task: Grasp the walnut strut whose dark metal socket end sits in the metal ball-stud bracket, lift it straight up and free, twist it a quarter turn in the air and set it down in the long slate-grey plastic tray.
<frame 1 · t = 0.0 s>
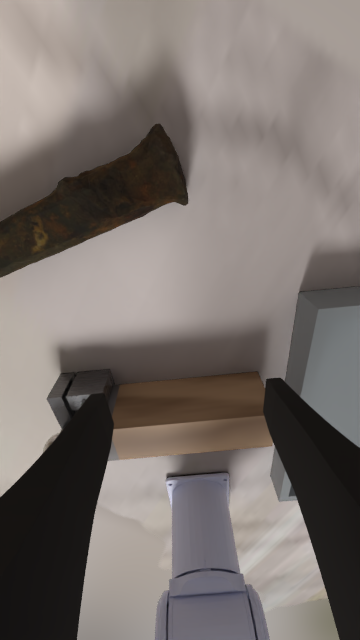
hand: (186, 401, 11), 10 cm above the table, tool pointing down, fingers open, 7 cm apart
tray: (343, 400, 26), on the table
strut: (175, 394, 25), on the table
hand tool: (58, 233, 18), on the table
stud bracket: (104, 401, 25), on the table
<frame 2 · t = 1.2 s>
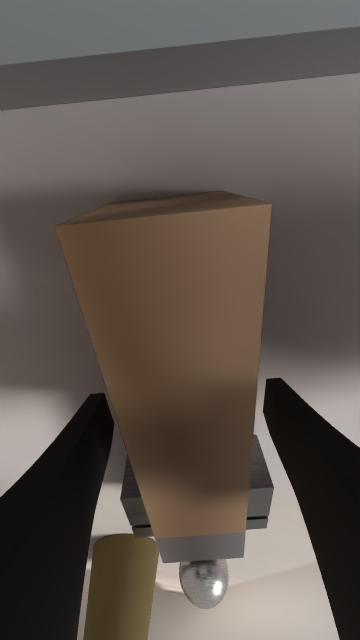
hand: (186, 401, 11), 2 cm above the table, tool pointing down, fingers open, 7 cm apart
olive bottle: (127, 545, 23), on the table
strut: (185, 369, 13), on the table
stud bracket: (193, 455, 16), on the table
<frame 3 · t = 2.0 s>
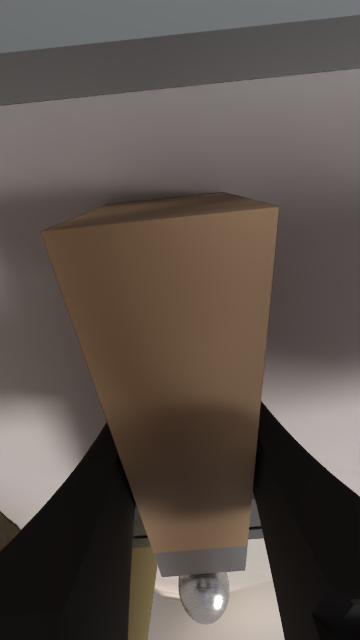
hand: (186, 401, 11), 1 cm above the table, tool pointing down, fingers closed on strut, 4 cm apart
olive bottle: (125, 553, 23), on the table
strut: (184, 376, 12), on the table, touching gripper
stud bracket: (193, 462, 16), on the table
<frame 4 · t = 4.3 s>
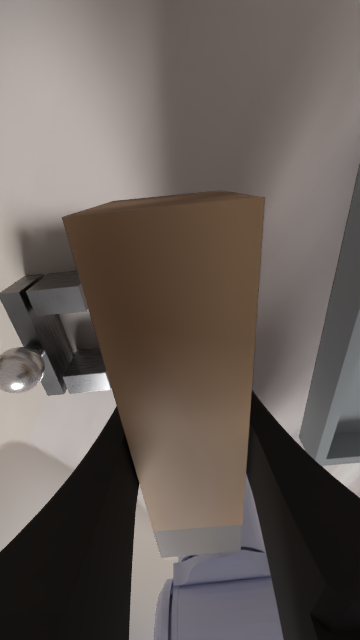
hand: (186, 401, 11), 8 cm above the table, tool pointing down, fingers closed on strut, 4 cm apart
strut: (183, 365, 13), point 6 cm above the table, touching gripper
stud bracket: (87, 323, 19), on the table
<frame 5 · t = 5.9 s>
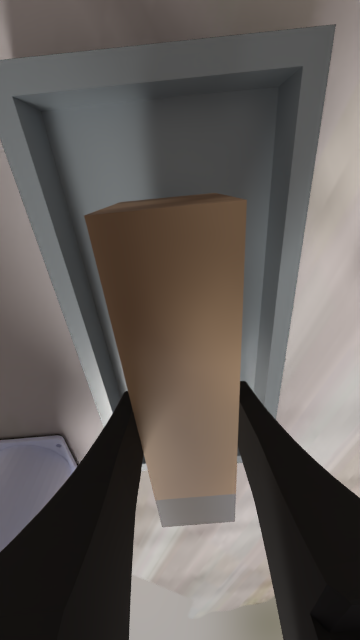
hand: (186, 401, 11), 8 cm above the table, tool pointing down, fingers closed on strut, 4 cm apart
tray: (180, 319, 18), on the table
strut: (182, 352, 14), point 4 cm above the table, touching gripper
when the fingers open (3 cm above the table, at t = 7.4 s): strut stays where it is, resting on tray.
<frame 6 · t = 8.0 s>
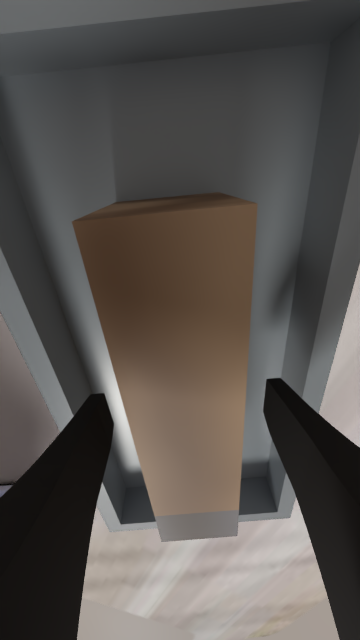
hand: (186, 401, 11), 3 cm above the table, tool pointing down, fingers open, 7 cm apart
tray: (183, 355, 14), on the table
strut: (183, 359, 14), point 1 cm above the table, touching tray
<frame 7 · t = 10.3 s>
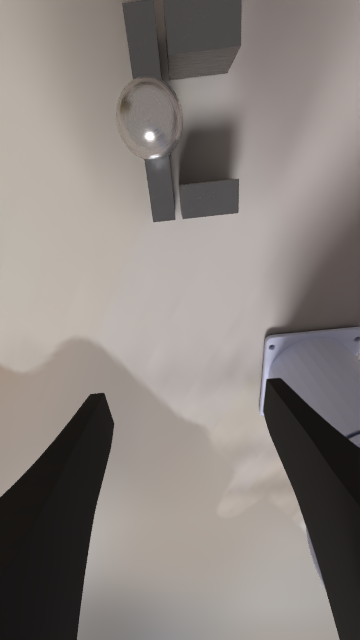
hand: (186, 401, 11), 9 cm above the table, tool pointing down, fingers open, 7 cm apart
stud bracket: (200, 133, 14), on the table
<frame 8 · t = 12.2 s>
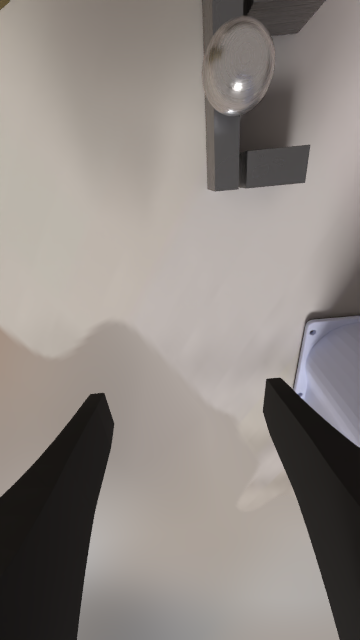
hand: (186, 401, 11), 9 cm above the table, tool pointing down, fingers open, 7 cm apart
stud bracket: (262, 99, 13), on the table
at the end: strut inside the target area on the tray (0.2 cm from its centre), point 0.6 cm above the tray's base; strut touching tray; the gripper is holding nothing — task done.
